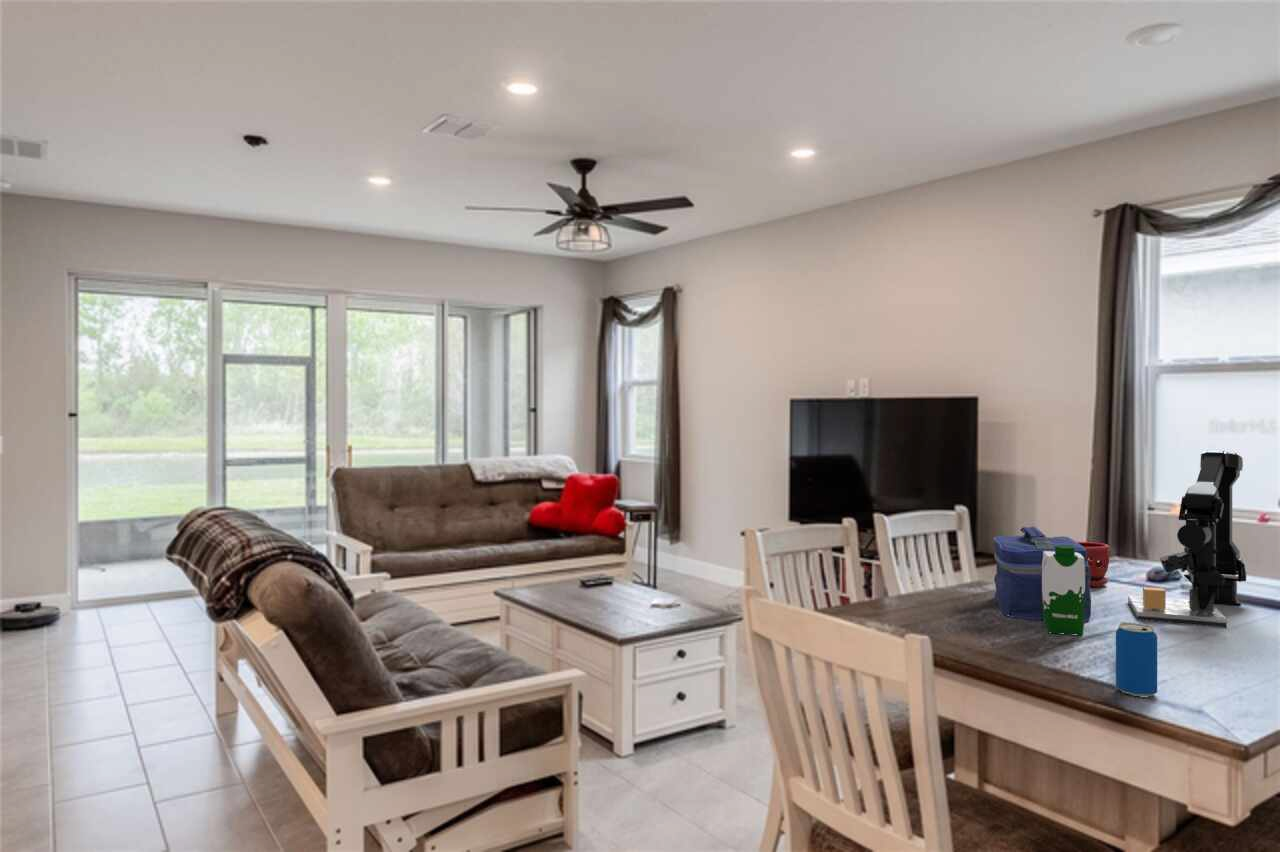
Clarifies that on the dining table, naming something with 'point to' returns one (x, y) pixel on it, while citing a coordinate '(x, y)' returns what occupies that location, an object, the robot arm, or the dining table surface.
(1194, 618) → the panel
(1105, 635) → the dining table surface
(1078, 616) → the milk carton
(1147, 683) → the beverage can
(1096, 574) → the plant pot
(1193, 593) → the black fader
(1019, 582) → the lunch bag
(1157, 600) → the orange fader
